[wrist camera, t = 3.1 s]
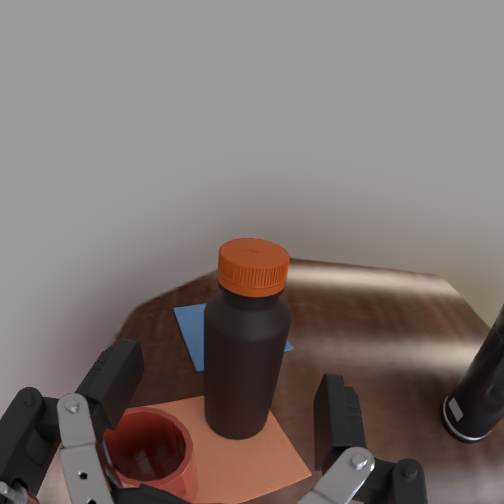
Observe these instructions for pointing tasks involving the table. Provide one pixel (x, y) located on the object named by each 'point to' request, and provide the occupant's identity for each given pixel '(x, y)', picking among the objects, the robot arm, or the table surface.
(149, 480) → the red cup
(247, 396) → the bottle
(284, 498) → the table surface
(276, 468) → the terracotta mat
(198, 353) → the blue mat
